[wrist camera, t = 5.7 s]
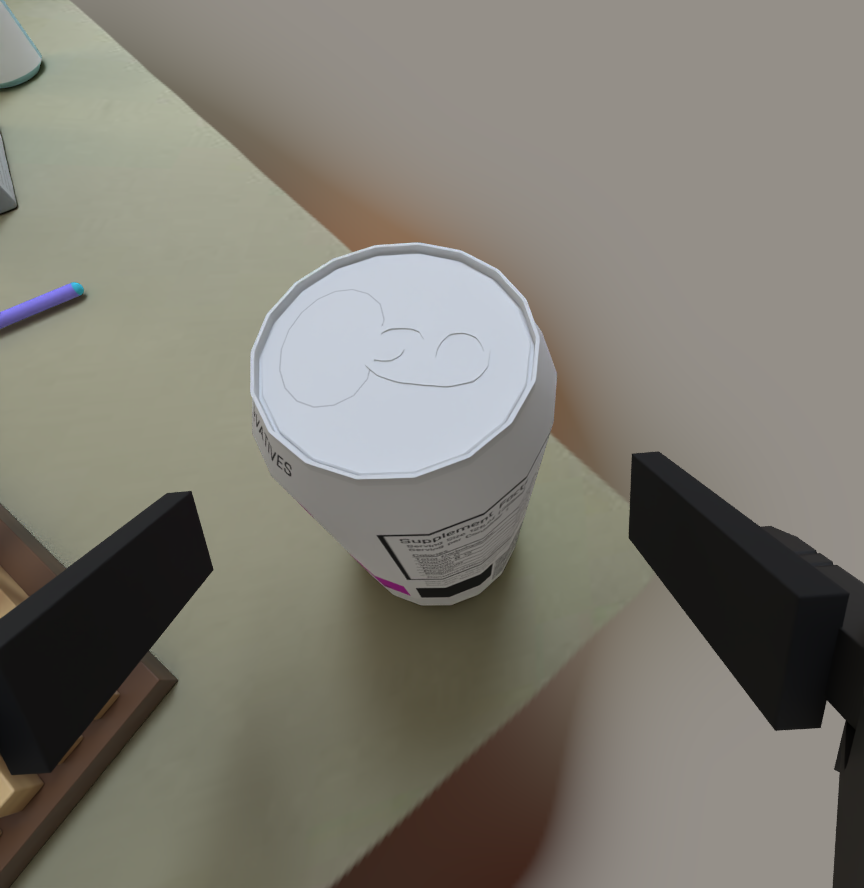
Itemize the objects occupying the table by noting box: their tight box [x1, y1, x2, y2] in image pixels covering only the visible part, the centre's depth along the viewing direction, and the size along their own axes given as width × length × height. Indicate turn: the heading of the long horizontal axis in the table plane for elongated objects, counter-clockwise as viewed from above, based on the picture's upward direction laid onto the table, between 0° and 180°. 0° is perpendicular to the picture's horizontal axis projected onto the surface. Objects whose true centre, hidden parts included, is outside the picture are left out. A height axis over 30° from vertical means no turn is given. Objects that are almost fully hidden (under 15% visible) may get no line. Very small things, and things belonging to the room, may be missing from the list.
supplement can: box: [250, 242, 557, 605], centre depth 18 cm, size 8×8×15 cm
